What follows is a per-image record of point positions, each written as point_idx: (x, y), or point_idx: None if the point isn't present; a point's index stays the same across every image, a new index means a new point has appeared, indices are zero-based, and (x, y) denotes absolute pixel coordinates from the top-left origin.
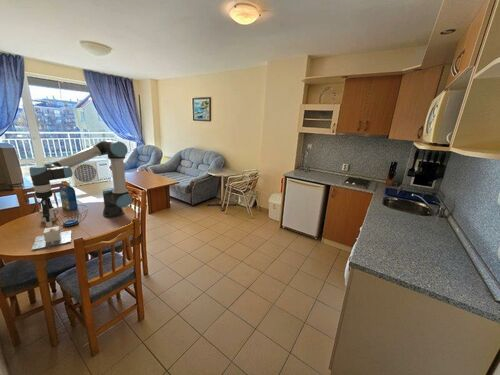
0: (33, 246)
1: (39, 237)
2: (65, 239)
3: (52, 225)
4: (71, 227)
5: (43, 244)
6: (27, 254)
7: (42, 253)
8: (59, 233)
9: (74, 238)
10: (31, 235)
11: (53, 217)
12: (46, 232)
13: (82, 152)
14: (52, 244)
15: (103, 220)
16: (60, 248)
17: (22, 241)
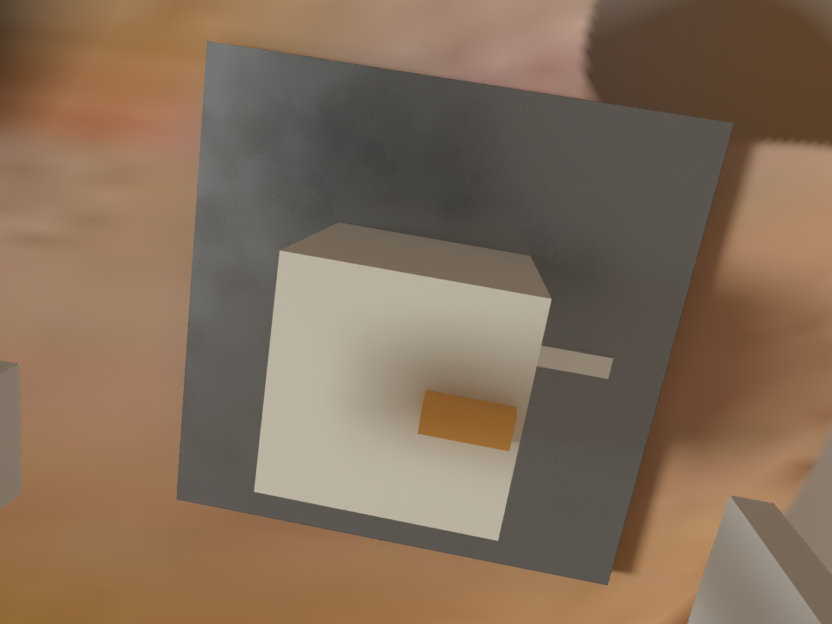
0: (515, 559)
1: (231, 471)
2: (573, 182)
3: (759, 502)
4: (16, 20)
5: (538, 460)
6: (673, 614)
7: (792, 488)
8: (448, 257)
9: (570, 45)
10: (54, 522)
11: (11, 389)
12: (507, 494)
13: None
14: (634, 366)
15: None
16: (819, 284)
17: (203, 614)
